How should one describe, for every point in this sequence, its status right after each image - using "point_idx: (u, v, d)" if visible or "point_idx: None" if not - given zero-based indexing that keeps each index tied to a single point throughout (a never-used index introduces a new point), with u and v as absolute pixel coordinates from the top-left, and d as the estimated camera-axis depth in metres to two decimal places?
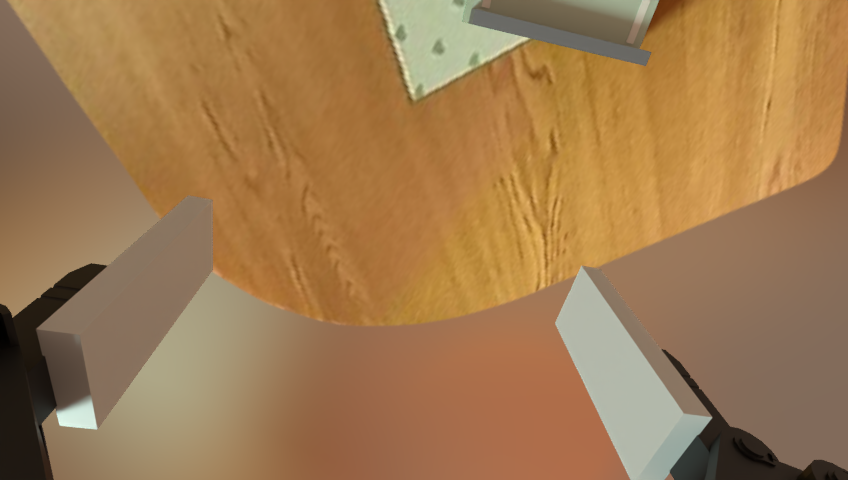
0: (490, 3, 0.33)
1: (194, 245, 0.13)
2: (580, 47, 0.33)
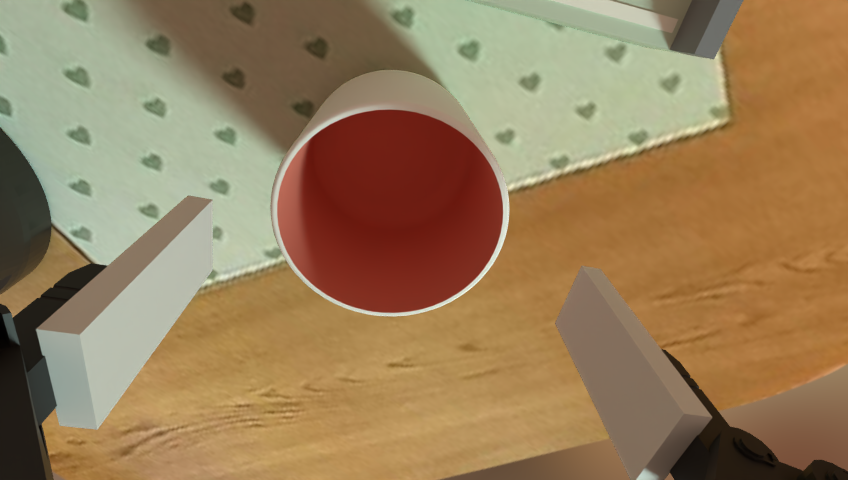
0: (671, 17, 0.20)
1: (194, 245, 0.13)
2: None
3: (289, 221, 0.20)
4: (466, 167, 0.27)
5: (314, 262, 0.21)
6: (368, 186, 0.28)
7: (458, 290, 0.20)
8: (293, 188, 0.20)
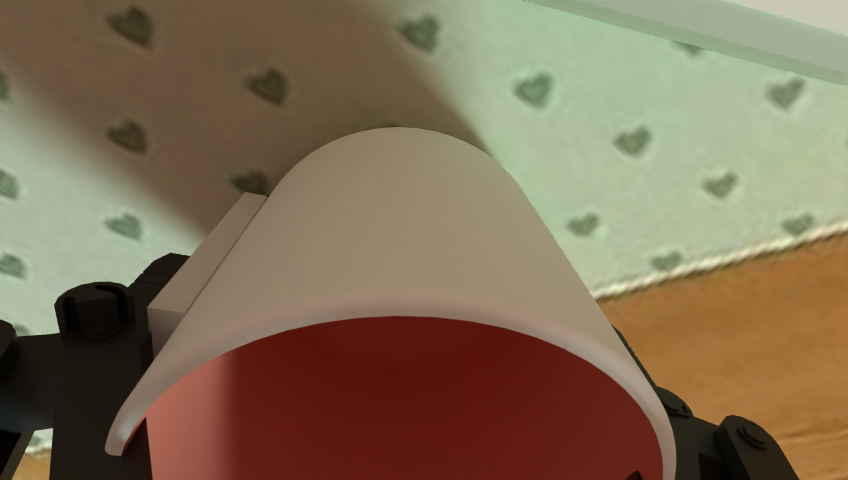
0: None
1: None
2: None
3: (180, 471, 0.09)
4: None
5: None
6: None
7: None
8: (200, 381, 0.10)
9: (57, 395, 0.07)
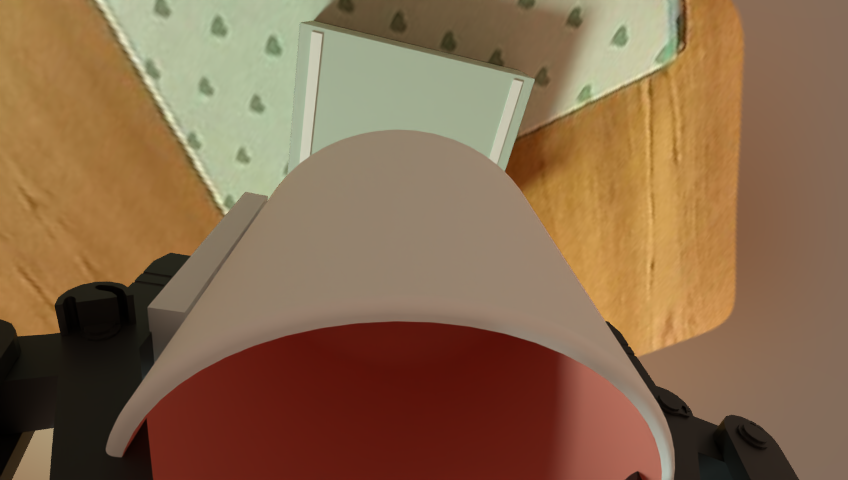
0: None
1: None
2: None
3: (180, 474, 0.09)
4: None
5: None
6: None
7: None
8: (200, 384, 0.10)
9: (58, 394, 0.07)
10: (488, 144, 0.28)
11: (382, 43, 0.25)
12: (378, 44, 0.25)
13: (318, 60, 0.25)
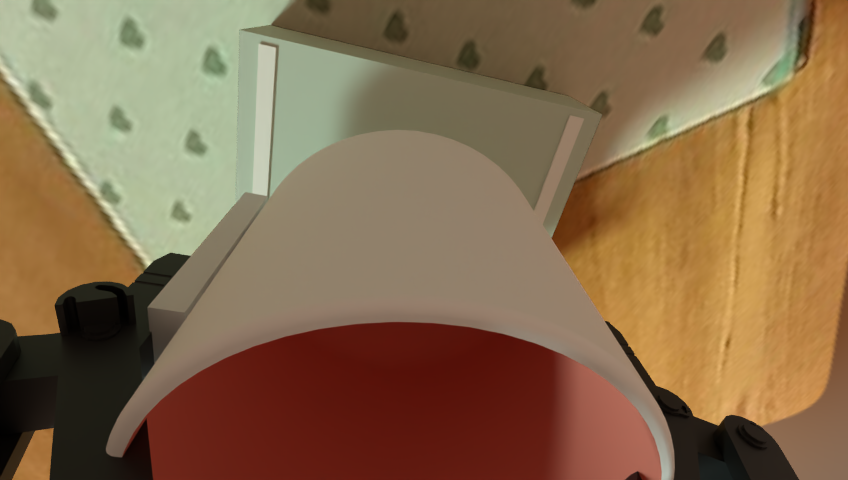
0: None
1: None
2: None
3: (180, 474, 0.09)
4: None
5: None
6: None
7: None
8: (200, 384, 0.10)
9: (57, 395, 0.07)
10: None
11: (370, 61, 0.16)
12: (363, 63, 0.16)
13: (272, 87, 0.16)
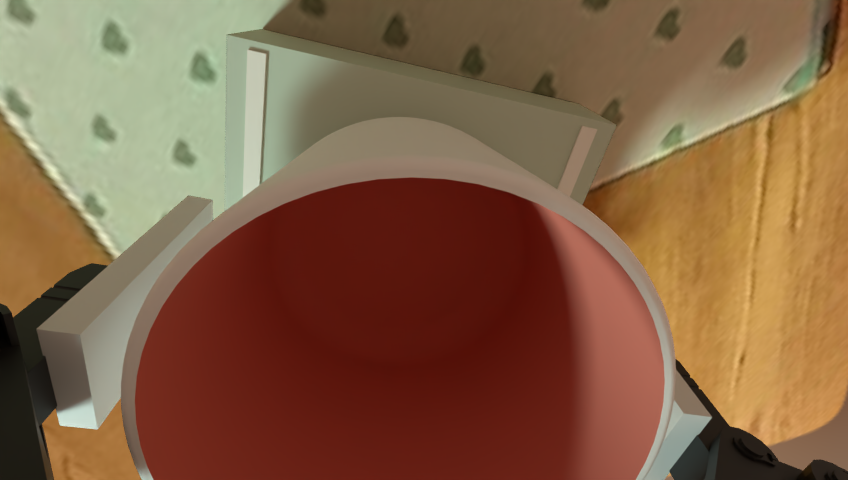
0: None
1: None
2: None
3: (188, 411, 0.09)
4: (514, 266, 0.17)
5: None
6: (361, 296, 0.18)
7: None
8: (210, 332, 0.10)
9: None
10: None
11: (368, 69, 0.15)
12: (361, 70, 0.15)
13: (262, 96, 0.15)
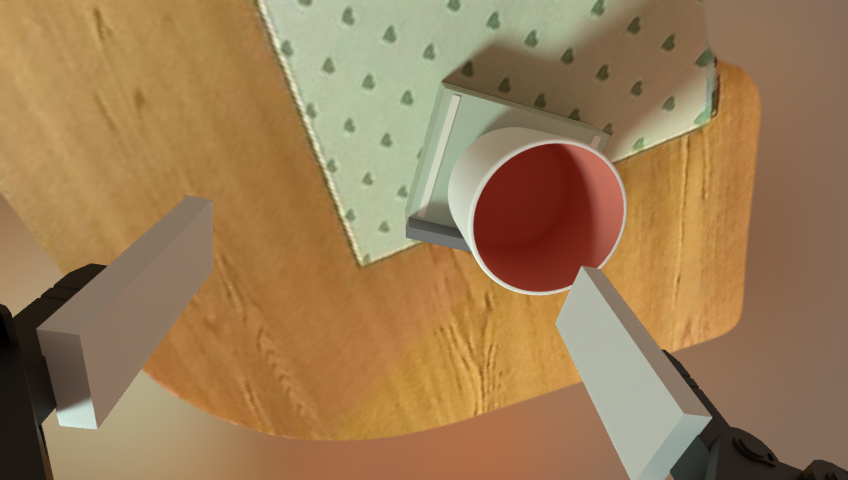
0: (425, 214, 0.37)
1: (194, 245, 0.13)
2: None
3: None
4: (560, 200, 0.36)
5: None
6: (484, 213, 0.36)
7: None
8: None
9: None
10: None
11: (502, 105, 0.33)
12: (499, 105, 0.33)
13: (454, 115, 0.33)
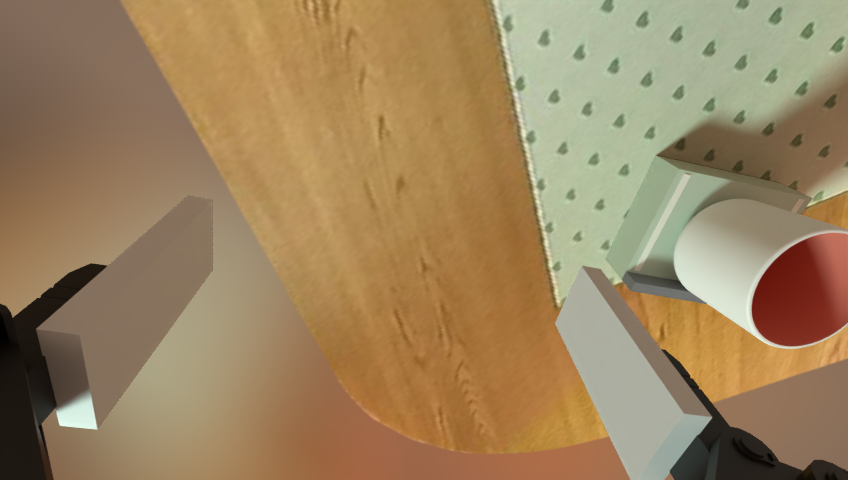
0: (640, 268, 0.43)
1: (194, 245, 0.13)
2: None
3: None
4: None
5: None
6: None
7: (832, 331, 0.34)
8: None
9: None
10: None
11: (724, 179, 0.39)
12: (722, 180, 0.39)
13: (682, 189, 0.39)
